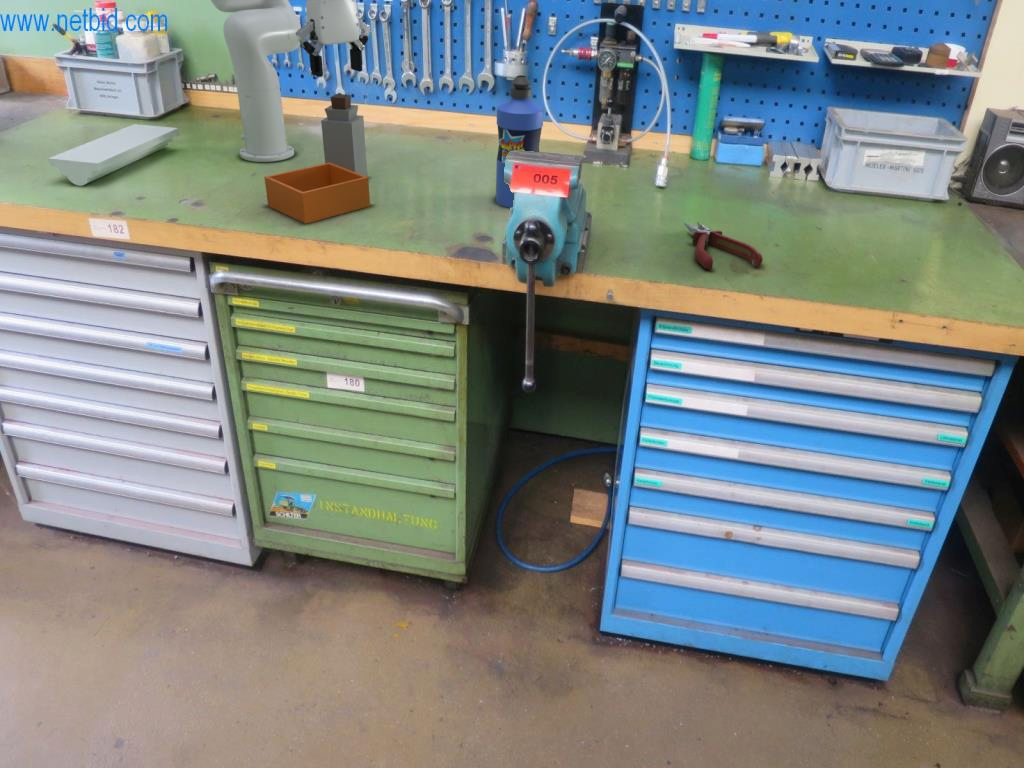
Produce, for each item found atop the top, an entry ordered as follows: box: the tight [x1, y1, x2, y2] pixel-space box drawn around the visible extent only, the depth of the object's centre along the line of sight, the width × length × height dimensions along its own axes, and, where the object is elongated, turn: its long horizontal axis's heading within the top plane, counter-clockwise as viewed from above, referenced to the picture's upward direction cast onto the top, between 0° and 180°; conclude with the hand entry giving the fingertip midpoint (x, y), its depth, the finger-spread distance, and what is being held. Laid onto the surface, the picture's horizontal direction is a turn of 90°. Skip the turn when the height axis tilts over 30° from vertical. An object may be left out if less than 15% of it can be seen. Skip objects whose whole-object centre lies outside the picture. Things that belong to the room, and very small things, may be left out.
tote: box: [263, 162, 371, 225], centre depth 159 cm, size 13×15×6 cm
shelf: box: [48, 123, 180, 187], centre depth 177 cm, size 12×30×5 cm, turn 169°
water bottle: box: [495, 74, 545, 209], centre depth 160 cm, size 9×9×25 cm
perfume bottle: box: [320, 93, 368, 177], centre depth 170 cm, size 7×7×18 cm
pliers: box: [683, 221, 764, 270], centre depth 147 cm, size 12×20×3 cm, turn 12°
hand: (337, 72), depth 163 cm, fingers open, 9 cm apart
